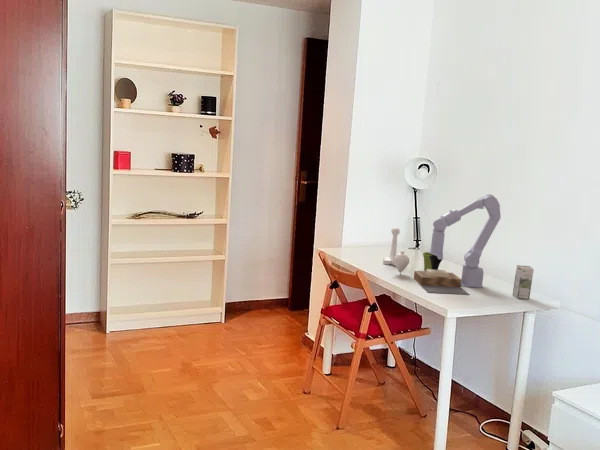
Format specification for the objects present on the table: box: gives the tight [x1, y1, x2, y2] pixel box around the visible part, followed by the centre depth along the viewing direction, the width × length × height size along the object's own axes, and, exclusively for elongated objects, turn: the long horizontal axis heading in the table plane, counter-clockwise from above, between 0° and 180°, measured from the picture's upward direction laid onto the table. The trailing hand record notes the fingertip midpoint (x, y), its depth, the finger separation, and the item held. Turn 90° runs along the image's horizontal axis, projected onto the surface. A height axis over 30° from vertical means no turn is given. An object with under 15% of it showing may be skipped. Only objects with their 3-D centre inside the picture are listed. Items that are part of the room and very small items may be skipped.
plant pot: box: [422, 251, 433, 271], centre depth 323 cm, size 9×9×9 cm
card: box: [425, 269, 449, 277], centre depth 296 cm, size 9×6×2 cm, turn 95°
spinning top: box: [394, 250, 410, 275], centre depth 308 cm, size 8×8×12 cm
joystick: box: [382, 226, 401, 266], centre depth 330 cm, size 11×8×20 cm
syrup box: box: [512, 264, 535, 300], centre depth 281 cm, size 6×6×14 cm
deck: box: [413, 270, 462, 288], centre depth 297 cm, size 19×13×4 cm
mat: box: [420, 285, 470, 296], centre depth 285 cm, size 19×12×1 cm, turn 95°
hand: (434, 270), depth 300 cm, fingers closed
